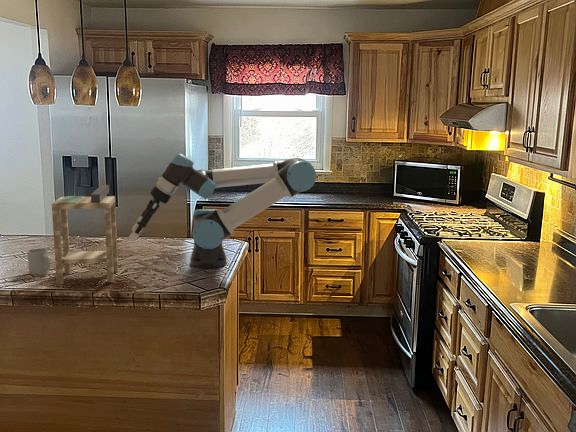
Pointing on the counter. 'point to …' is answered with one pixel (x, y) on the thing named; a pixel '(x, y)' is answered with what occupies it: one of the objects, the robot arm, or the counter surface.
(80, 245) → the counter surface
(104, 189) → the grey square bar
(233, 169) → the robot arm
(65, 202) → the stand
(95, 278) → the counter surface
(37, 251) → the cup
